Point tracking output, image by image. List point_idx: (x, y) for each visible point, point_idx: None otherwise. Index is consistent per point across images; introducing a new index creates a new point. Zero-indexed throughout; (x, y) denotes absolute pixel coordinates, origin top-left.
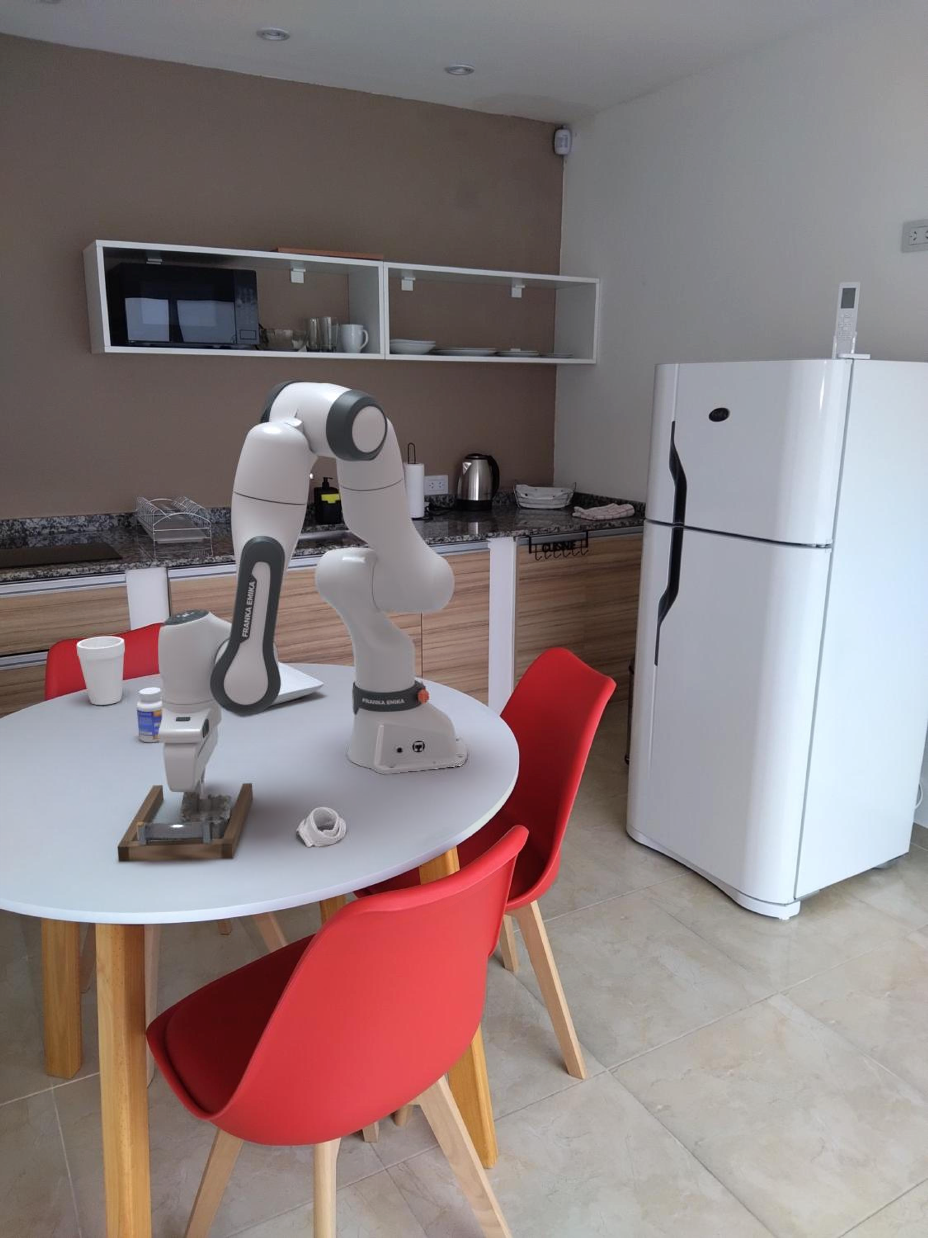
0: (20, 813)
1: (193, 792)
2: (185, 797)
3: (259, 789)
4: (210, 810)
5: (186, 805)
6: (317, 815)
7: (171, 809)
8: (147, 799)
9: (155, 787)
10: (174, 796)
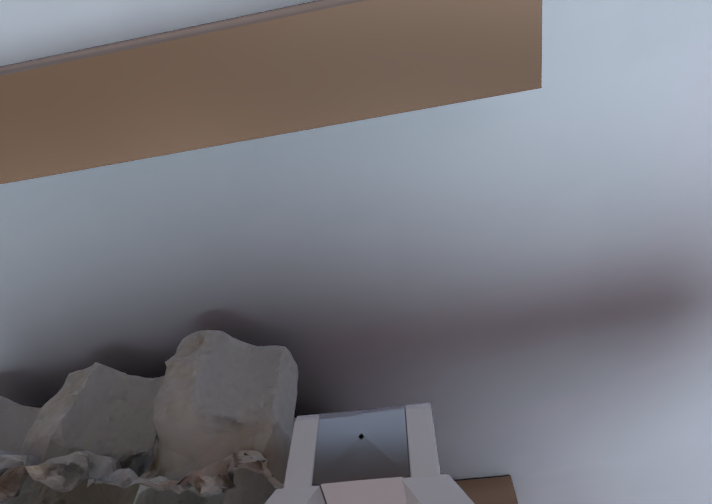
0: None
1: (271, 476)
2: (136, 479)
3: (632, 500)
4: None
5: (62, 489)
6: None
7: (372, 166)
8: (161, 76)
9: (478, 27)
10: (600, 99)
